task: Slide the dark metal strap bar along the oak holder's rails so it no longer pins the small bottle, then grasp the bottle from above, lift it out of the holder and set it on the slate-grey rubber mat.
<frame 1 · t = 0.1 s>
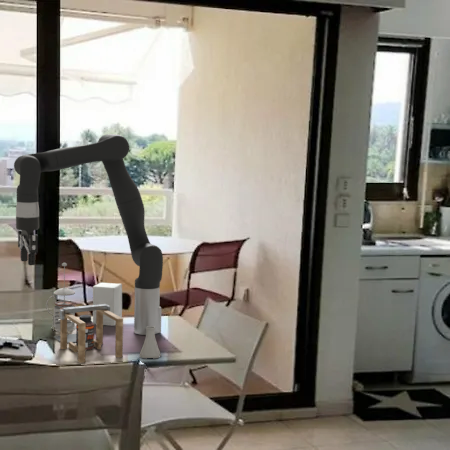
hand: (27, 263, 259), 29 cm above the table, tool pointing down, fingers open, 8 cm apart
french press: (61, 328, 289), on the table
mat: (71, 339, 274), on the table
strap: (85, 311, 262), point 13 cm above the table, slide at 0.0 cm
supplement bottle: (84, 349, 263), on the table
flask: (150, 357, 256), on the table
holder: (84, 348, 263), on the table
supplement box: (107, 323, 299), on the table
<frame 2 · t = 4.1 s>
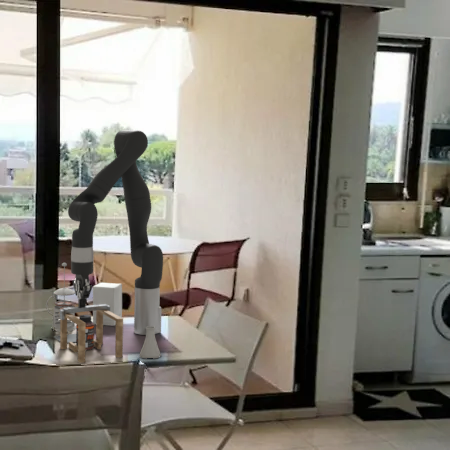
hand: (82, 309, 264), 13 cm above the table, tool pointing down, fingers closed
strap: (85, 311, 262), point 13 cm above the table, slide at 0.1 cm, touching gripper
everything else where it was.
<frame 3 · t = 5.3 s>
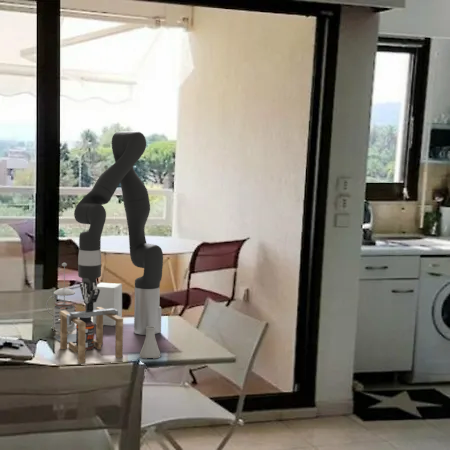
hand: (89, 313, 258), 13 cm above the table, tool pointing down, fingers closed
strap: (92, 316, 256), point 13 cm above the table, slide at 7.0 cm, touching gripper
everything else where it was.
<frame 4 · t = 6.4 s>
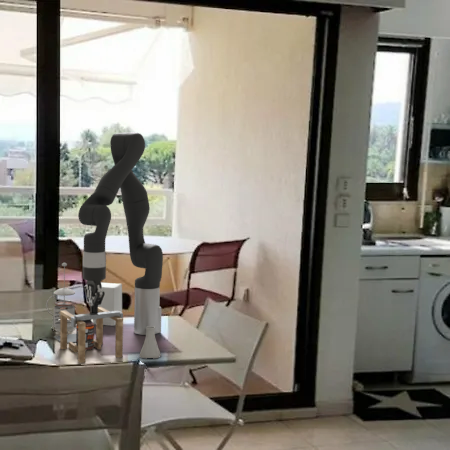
hand: (93, 316, 255), 13 cm above the table, tool pointing down, fingers closed
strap: (97, 318, 252), point 13 cm above the table, slide at 11.0 cm, touching gripper
everything else where it was.
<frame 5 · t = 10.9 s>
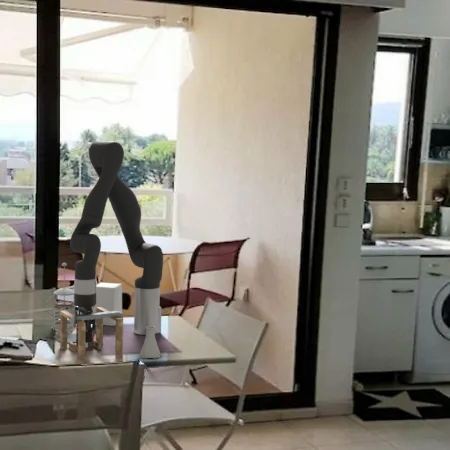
hand: (84, 339, 263), 3 cm above the table, tool pointing down, fingers closed on supplement bottle, 6 cm apart
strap: (97, 318, 252), point 13 cm above the table, slide at 11.0 cm
supplement bottle: (84, 348, 263), on the table, touching gripper
everything else where it was.
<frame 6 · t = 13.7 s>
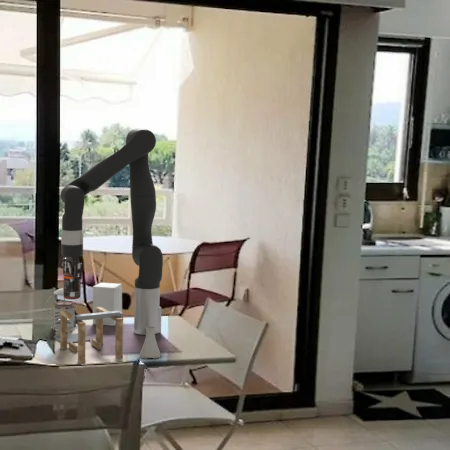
hand: (72, 289, 272), 18 cm above the table, tool pointing down, fingers closed on supplement bottle, 6 cm apart
supplement bottle: (72, 298, 273), point 15 cm above the table, touching gripper
everything else where it was.
when the fingers open (5 cm above the table, at t = 16.5 s): supplement bottle drops 1 cm, resting on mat.
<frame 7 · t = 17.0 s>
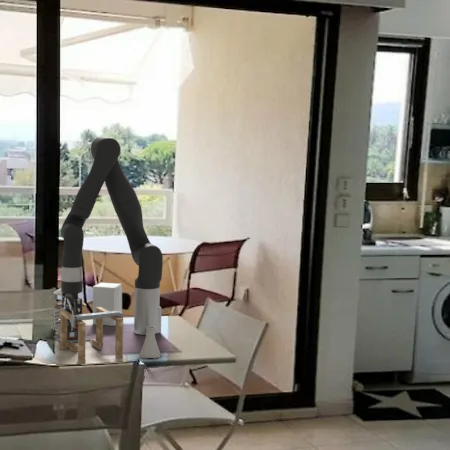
hand: (71, 323, 274), 6 cm above the table, tool pointing down, fingers open, 8 cm apart
supplement bottle: (71, 338, 275), resting on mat
everything else where it was.
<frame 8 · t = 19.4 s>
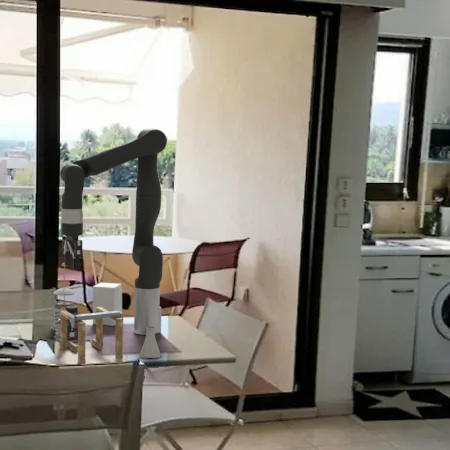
hand: (71, 266, 271), 26 cm above the table, tool pointing down, fingers open, 8 cm apart
nothing on the table moved.
at the end: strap slide at 11.0 cm; supplement bottle inside the target area on the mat (0.2 cm from its centre), point 0.2 cm above the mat's base; supplement bottle tilted 0° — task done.
